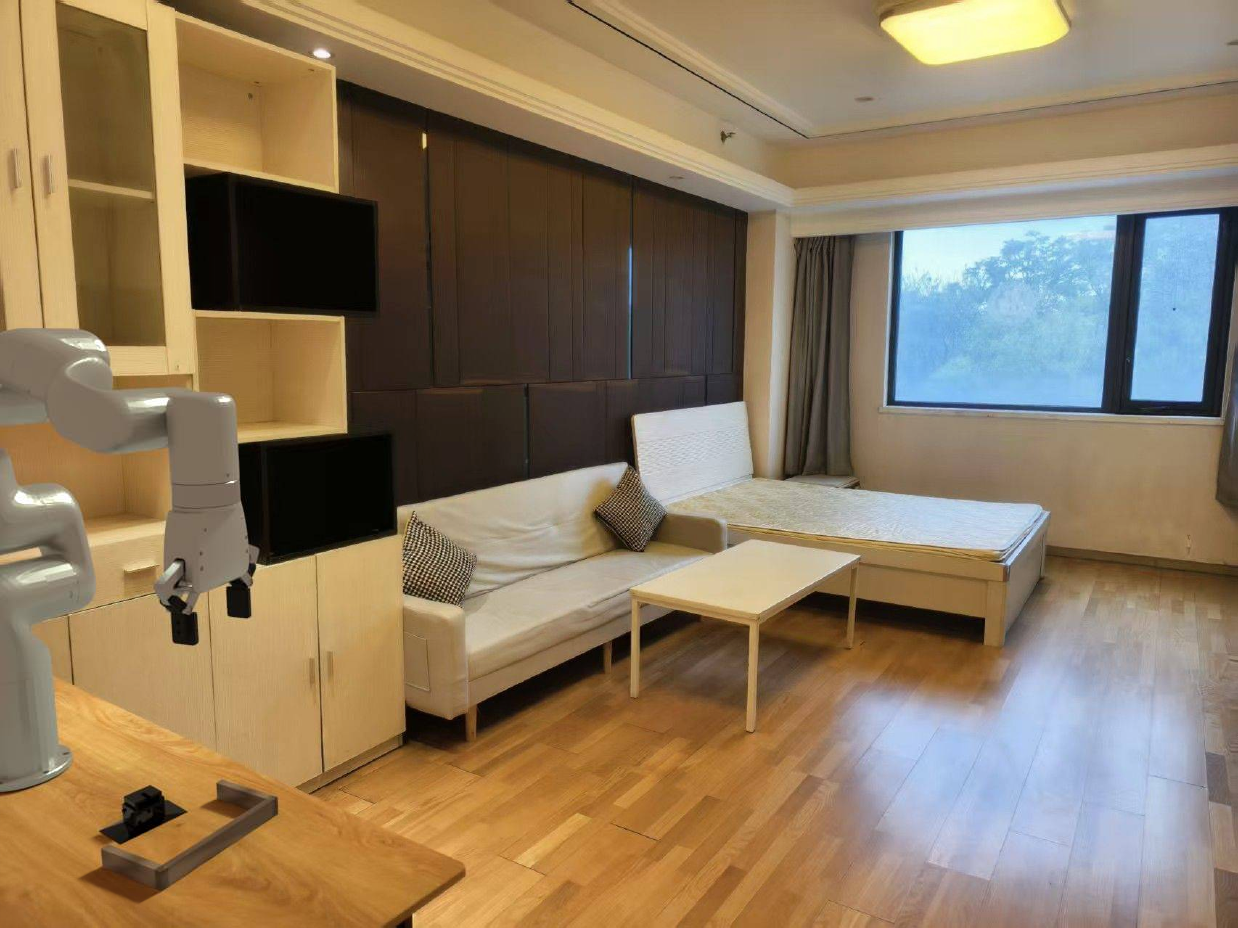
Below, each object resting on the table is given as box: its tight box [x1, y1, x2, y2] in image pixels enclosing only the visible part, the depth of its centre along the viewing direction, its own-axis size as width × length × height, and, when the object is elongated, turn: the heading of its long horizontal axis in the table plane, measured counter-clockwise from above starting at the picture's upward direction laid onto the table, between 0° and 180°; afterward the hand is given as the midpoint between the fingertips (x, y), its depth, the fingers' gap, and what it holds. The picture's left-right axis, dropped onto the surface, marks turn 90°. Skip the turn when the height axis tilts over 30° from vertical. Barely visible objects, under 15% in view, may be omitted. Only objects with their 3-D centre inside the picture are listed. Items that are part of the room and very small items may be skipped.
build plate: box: [98, 784, 189, 845], centre depth 114 cm, size 12×7×5 cm, turn 147°
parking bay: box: [100, 779, 279, 892], centre depth 110 cm, size 10×18×2 cm, turn 156°
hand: (213, 629), depth 105 cm, fingers open, 9 cm apart
